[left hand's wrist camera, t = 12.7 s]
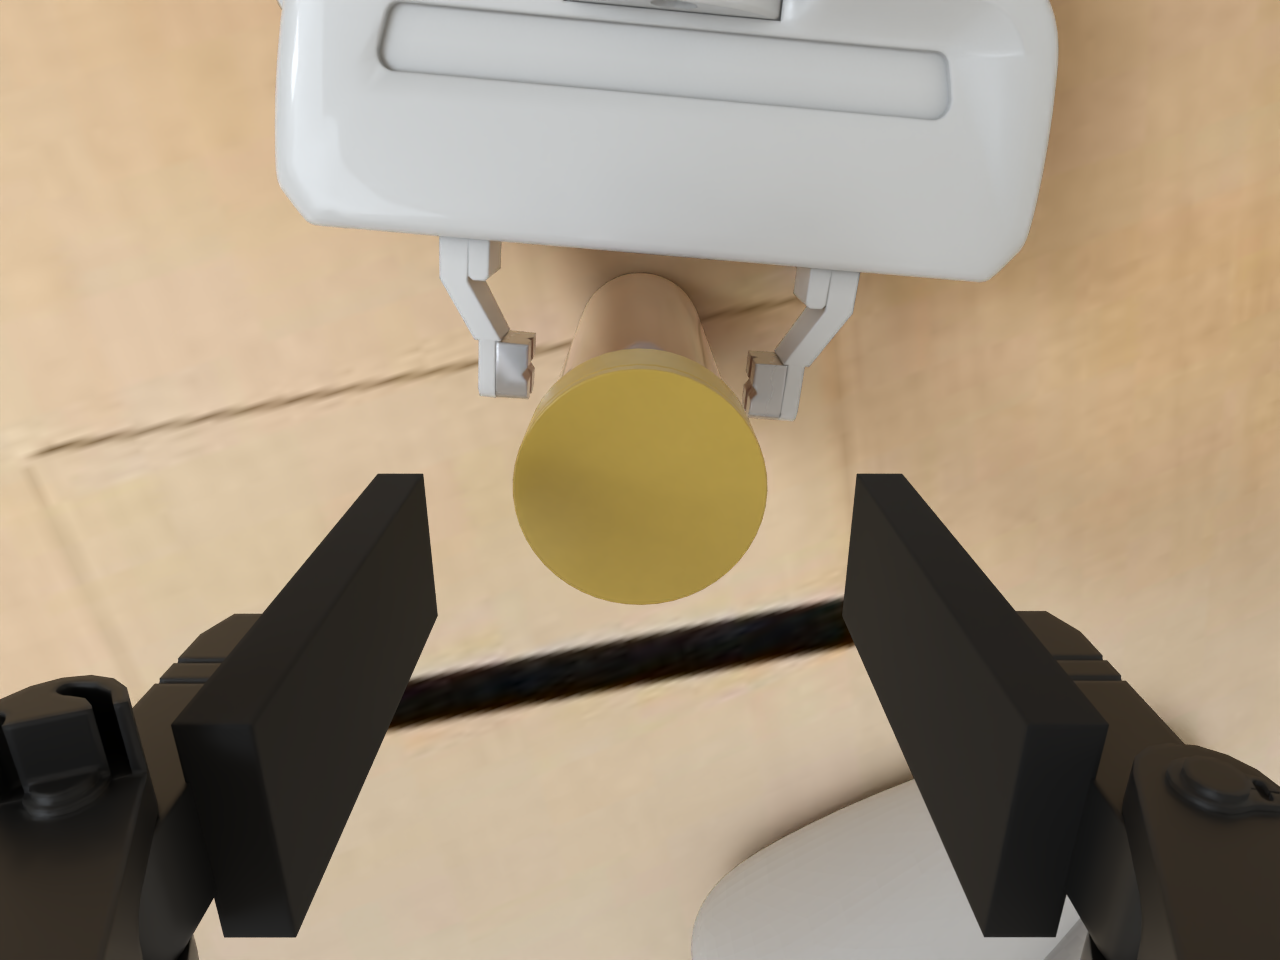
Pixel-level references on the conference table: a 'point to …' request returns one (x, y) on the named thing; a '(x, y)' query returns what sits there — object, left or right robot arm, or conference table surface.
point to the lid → (640, 478)
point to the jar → (639, 322)
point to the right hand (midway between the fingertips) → (637, 404)
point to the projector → (860, 896)
